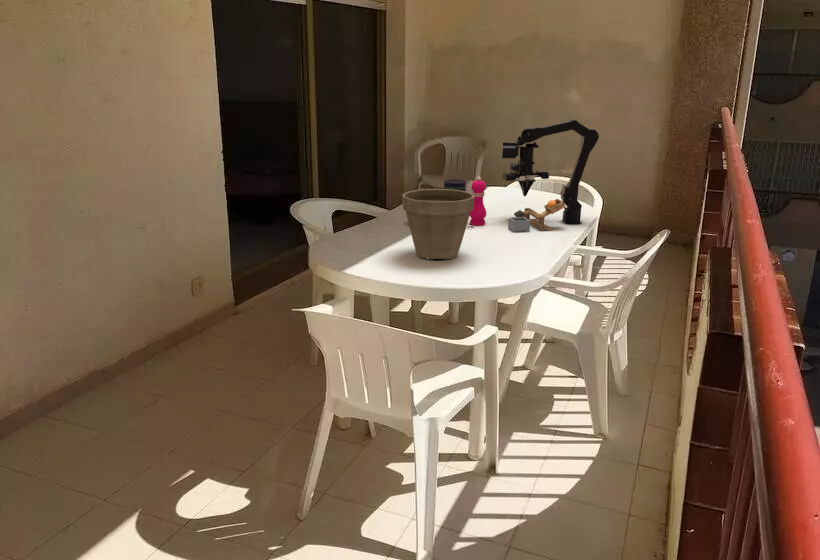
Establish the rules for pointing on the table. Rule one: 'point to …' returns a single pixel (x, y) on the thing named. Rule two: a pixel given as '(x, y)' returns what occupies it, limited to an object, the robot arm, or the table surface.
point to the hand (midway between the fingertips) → (524, 196)
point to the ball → (551, 203)
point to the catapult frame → (538, 223)
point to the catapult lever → (548, 211)
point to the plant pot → (437, 220)
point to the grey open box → (519, 224)
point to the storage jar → (455, 184)
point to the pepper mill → (478, 203)
